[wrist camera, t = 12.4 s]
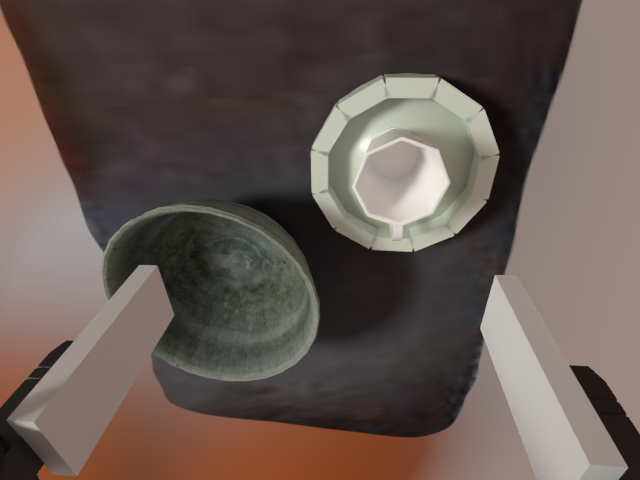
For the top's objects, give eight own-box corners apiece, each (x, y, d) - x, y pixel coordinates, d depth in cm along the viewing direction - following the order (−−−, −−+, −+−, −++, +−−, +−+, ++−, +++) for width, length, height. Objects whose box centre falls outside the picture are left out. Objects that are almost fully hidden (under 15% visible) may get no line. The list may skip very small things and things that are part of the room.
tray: (313, 71, 31) (309, 76, 29) (506, 73, 30) (519, 78, 27) (315, 232, 40) (312, 246, 37) (466, 239, 38) (473, 254, 36)
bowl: (303, 334, 48) (291, 402, 40) (147, 292, 47) (100, 353, 38) (353, 199, 37) (350, 252, 29) (151, 138, 36) (87, 176, 27)
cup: (435, 108, 31) (456, 133, 24) (427, 212, 36) (442, 258, 29) (352, 113, 32) (350, 139, 25) (356, 214, 37) (355, 259, 30)
